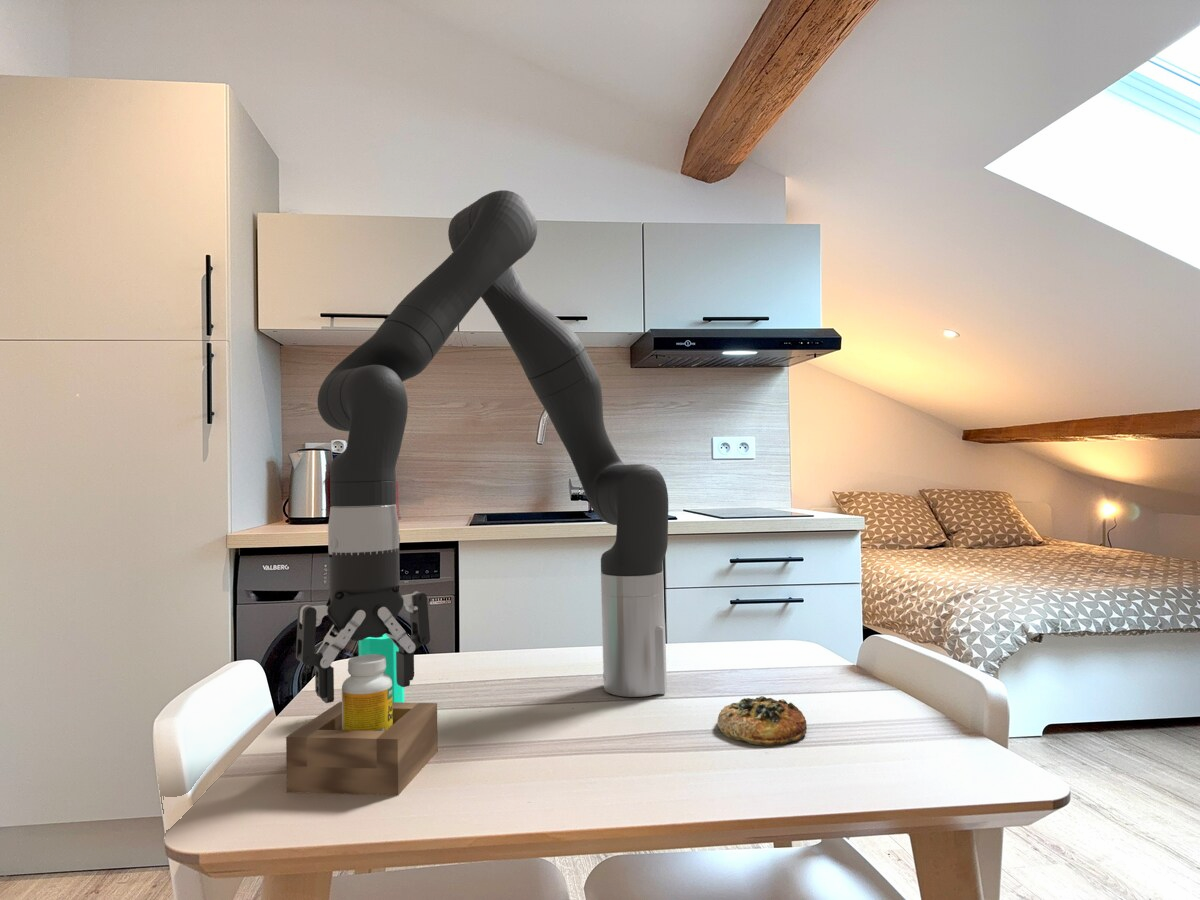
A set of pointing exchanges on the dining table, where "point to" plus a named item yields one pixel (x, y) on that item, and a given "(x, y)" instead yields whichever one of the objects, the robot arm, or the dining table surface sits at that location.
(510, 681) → the dining table surface
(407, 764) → the walnut tray
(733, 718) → the bread roll
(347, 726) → the supplement bottle
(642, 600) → the robot arm
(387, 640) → the candle
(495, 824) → the dining table surface
